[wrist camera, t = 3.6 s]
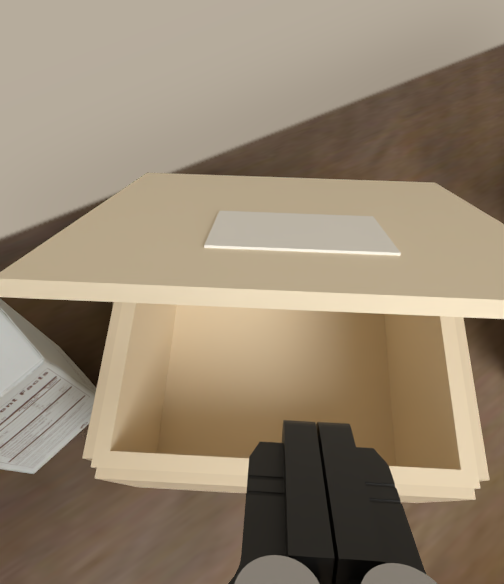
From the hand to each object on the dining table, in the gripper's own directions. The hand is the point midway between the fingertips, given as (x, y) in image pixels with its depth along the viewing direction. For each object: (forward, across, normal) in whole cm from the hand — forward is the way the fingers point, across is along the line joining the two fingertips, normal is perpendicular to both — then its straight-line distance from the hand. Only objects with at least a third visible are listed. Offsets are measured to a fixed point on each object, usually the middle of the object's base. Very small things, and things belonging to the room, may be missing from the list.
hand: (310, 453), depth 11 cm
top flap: (+13, 0, -3) cm, 13 cm away
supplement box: (+21, +18, +14) cm, 31 cm away
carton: (+24, 0, +11) cm, 27 cm away
